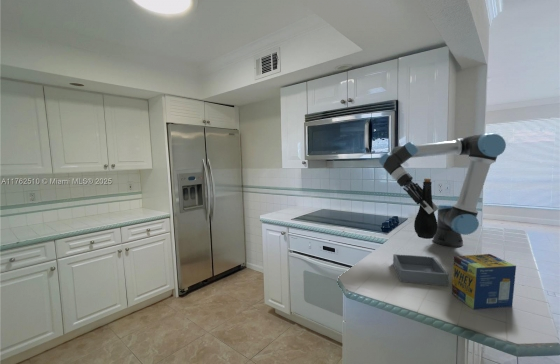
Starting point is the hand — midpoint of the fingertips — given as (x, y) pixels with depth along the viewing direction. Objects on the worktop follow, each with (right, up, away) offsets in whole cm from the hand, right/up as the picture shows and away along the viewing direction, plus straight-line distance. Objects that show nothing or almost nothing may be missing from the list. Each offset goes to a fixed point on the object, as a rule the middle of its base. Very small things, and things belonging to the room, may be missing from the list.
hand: (434, 211), depth 129 cm
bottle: (-2, -14, +4) cm, 15 cm away
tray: (-15, -27, -12) cm, 33 cm away
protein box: (-2, -30, -33) cm, 45 cm away
